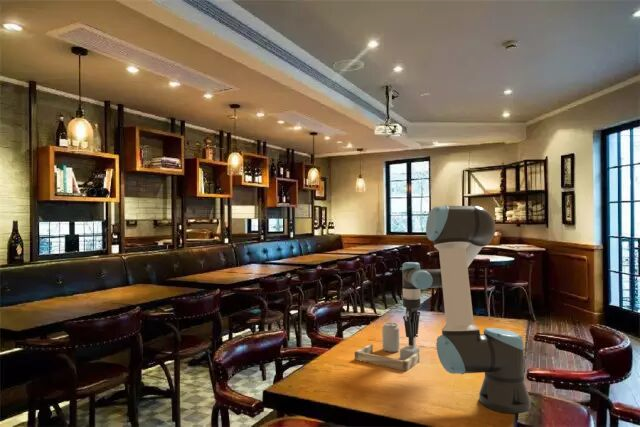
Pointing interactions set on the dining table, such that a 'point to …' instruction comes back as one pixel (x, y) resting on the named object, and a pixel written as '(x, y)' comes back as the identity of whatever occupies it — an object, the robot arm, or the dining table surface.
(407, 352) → the pale grey square block
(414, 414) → the dining table surface
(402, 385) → the dining table surface
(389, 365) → the tray
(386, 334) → the can
